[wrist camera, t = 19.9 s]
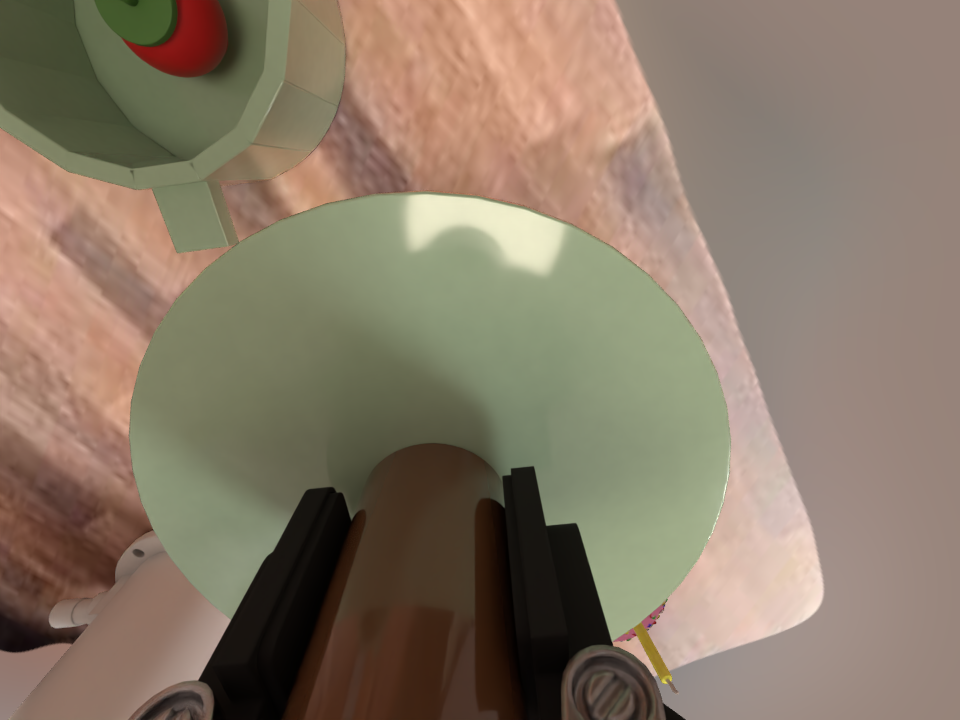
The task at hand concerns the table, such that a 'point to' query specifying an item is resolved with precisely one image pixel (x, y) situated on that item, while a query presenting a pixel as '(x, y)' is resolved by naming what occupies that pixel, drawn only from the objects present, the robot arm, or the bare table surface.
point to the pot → (173, 103)
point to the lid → (427, 434)
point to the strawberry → (170, 32)
